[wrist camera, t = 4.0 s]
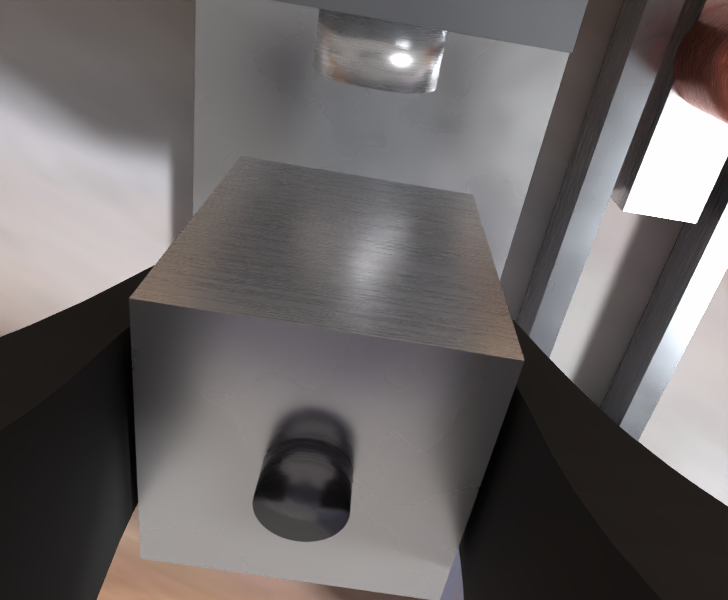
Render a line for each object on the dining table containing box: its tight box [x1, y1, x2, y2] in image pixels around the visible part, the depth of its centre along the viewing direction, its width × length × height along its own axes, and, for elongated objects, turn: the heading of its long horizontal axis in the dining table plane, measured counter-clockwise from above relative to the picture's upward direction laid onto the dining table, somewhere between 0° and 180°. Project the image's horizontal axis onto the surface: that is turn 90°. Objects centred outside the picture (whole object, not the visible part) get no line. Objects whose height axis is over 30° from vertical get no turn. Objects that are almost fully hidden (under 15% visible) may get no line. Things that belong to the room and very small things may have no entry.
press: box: [193, 0, 728, 441], centre depth 14 cm, size 17×15×6 cm
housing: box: [129, 156, 525, 600], centre depth 10 cm, size 4×4×6 cm
